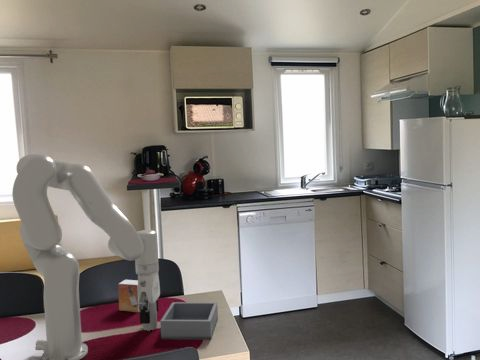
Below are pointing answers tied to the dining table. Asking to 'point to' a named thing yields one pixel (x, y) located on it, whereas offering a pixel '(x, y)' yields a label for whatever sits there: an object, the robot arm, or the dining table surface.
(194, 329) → the box
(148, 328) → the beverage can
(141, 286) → the robot arm
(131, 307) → the small box
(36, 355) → the dining table surface
